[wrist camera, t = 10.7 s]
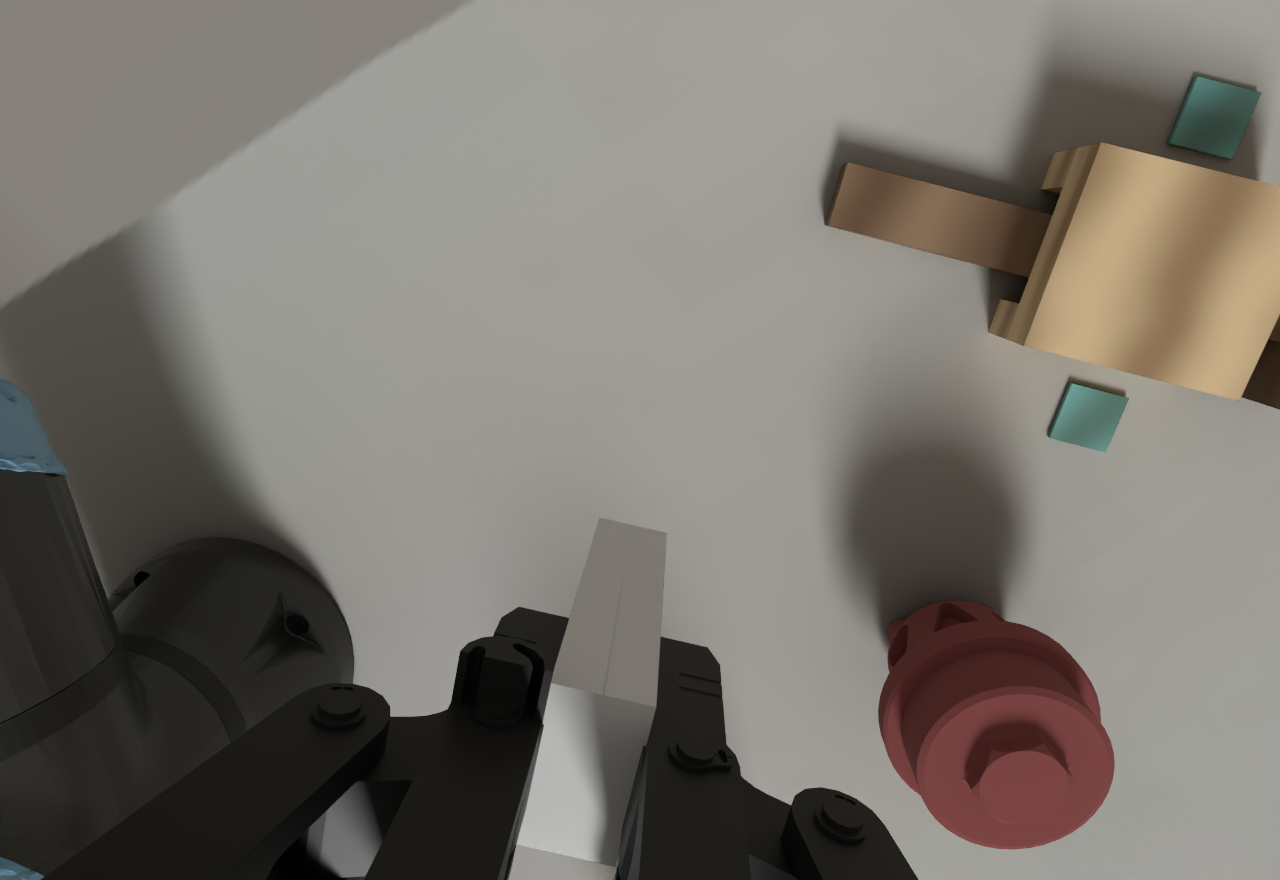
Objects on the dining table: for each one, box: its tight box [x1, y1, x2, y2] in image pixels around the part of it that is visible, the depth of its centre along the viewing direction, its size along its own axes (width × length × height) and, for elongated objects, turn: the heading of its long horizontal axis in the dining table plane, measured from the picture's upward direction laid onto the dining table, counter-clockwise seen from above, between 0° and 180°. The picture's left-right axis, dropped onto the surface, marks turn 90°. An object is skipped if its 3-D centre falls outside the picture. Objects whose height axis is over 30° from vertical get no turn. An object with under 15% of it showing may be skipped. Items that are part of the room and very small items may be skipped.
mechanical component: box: [878, 600, 1114, 849], centre depth 40 cm, size 12×10×10 cm
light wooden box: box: [989, 142, 1280, 401], centre depth 37 cm, size 10×9×5 cm
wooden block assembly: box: [825, 77, 1280, 452], centre depth 38 cm, size 24×18×4 cm
